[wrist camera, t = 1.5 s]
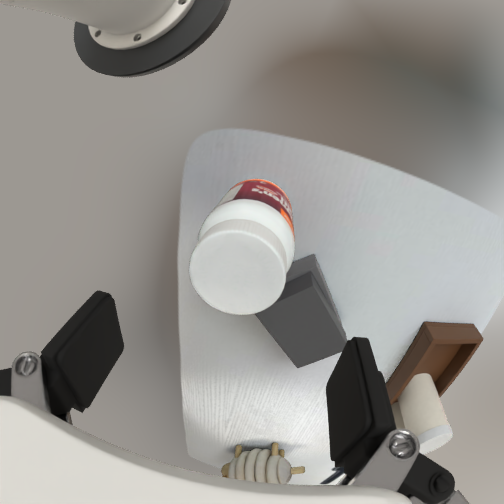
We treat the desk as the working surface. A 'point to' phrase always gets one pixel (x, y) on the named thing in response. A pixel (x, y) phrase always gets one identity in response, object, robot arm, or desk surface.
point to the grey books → (305, 316)
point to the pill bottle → (244, 249)
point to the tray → (435, 356)
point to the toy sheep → (260, 466)
